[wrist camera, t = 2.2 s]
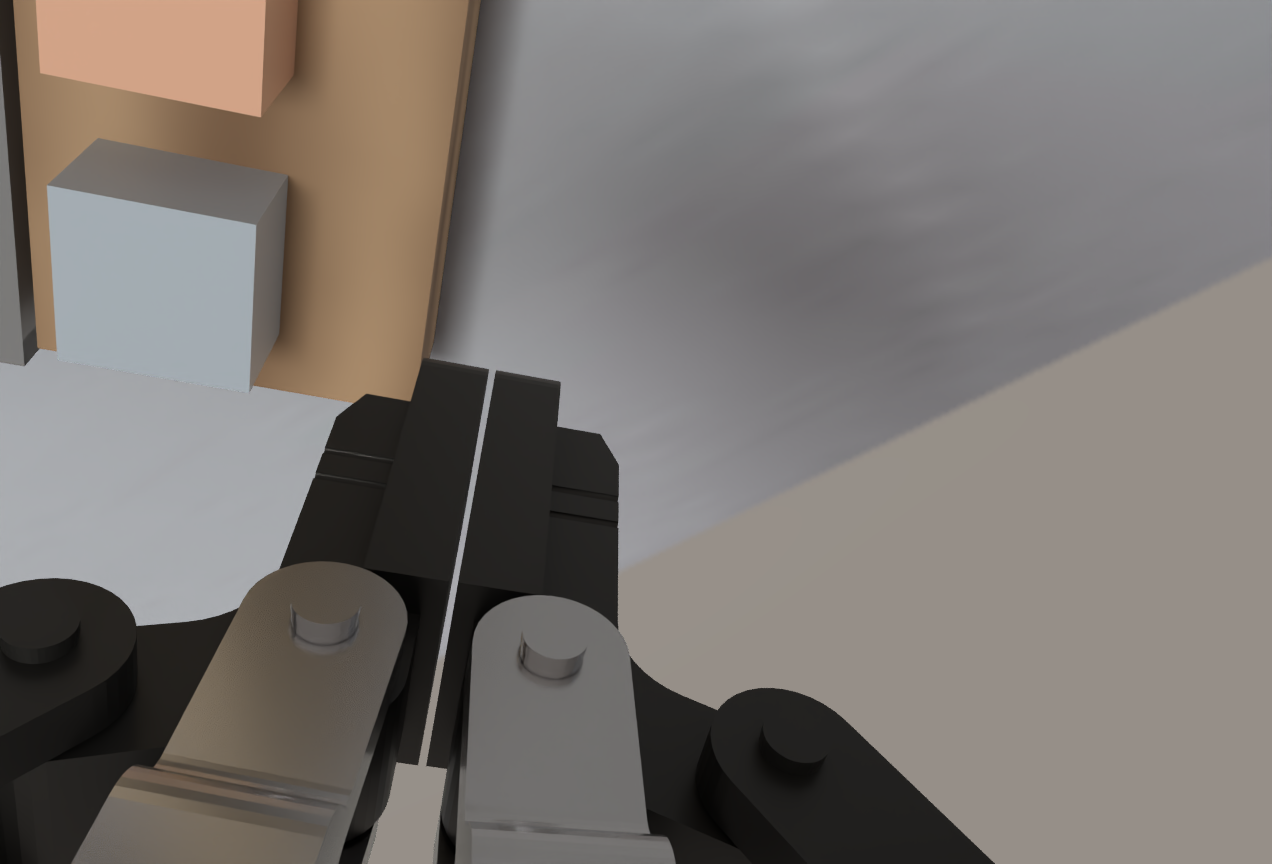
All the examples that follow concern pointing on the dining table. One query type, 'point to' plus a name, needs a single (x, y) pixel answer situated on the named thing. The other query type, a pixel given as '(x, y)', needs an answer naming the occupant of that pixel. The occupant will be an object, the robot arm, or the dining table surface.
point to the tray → (13, 210)
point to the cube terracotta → (174, 48)
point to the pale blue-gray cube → (167, 264)
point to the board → (306, 179)
